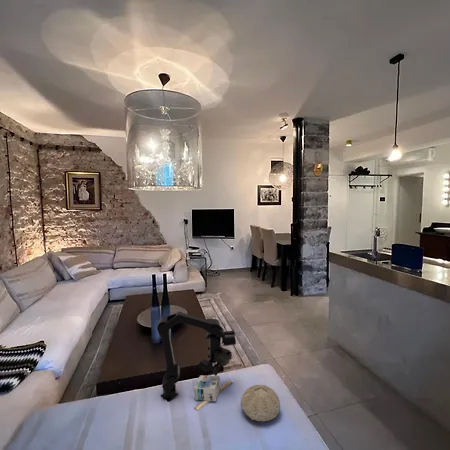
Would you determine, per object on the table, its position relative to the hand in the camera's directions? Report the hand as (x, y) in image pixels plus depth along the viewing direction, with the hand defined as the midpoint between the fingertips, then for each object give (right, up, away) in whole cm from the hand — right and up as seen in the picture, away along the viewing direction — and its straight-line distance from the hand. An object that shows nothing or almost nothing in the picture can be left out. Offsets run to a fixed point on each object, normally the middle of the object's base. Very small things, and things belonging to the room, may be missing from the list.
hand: (215, 375), depth 139 cm
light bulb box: (+1, -5, -3) cm, 6 cm away
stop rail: (0, -9, -2) cm, 9 cm away
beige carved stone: (+21, -10, -13) cm, 27 cm away
